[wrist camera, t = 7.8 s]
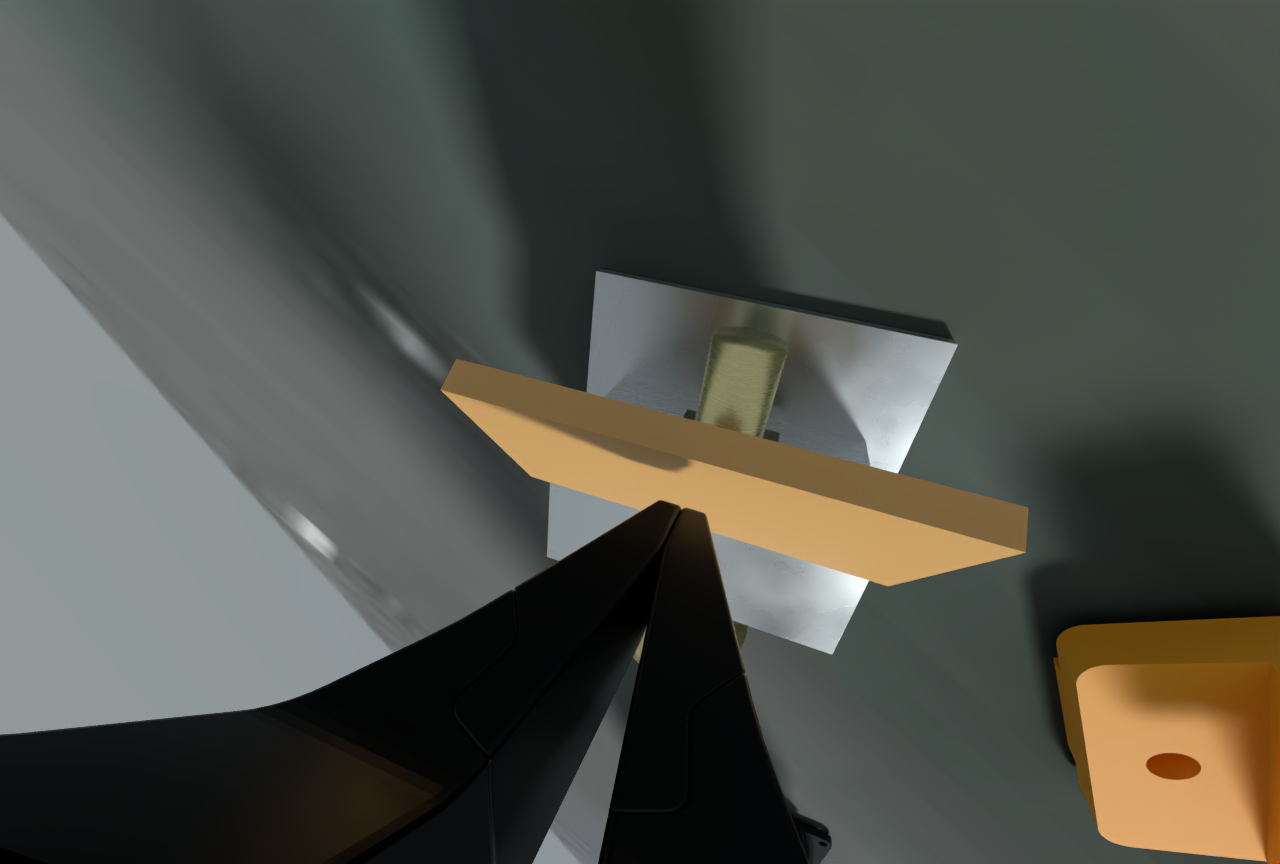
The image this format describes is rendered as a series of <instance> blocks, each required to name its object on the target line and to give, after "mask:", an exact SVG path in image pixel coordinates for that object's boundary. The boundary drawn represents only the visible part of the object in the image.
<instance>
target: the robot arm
mask: <svg viewBox="0 0 1280 864" xmlns="http://www.w3.org/2000/svg"><path fill="white" fill-rule="evenodd" d="M645 630H646V632H645ZM644 633H645V637H644V642H643V647H642V652H641V657H640V662H639V667H638V671H637V676H636V681H635V686H634V691H633V696H632V701H631V706H630V710H629V715H628V720H627V725H626V730H625V735H624V740H623V745H622V750H621V754H620V759H619V764H618V769H617V774H616V779H615V784H614V789H613V794H612V798H611V803H610V808H609V813H608V818H607V823H606V828H605V833H604V838H603V842H602V847H601V852H600V857H599V862H598V864H820V863H821V861H822V860H823V858H824V857H825V856H826V854H827V853H828V851H829V850H830V849H831V846H832V841H831V837H830V836H829V835H828V834H826V833H824V832H821V831H819V830H816V829H814V828H812V827H809V826H807V825H804V824H802V823H800V822H797V821H795V820H793V819H792V817H791V814H790V812H789V809H788V806H787V804H786V801H785V798H784V796H783V793H782V790H781V788H780V785H779V782H778V779H777V777H776V774H775V771H774V768H773V765H772V762H771V759H770V756H769V754H768V751H767V748H766V745H765V742H764V739H763V736H762V732H761V729H760V725H759V722H758V718H757V714H756V711H755V707H754V704H753V700H752V696H751V692H750V688H749V684H748V680H747V677H746V676H745V675H744V674H745V669H744V665H743V661H742V657H741V653H740V649H739V645H738V641H737V637H736V633H735V629H734V625H733V621H732V616H731V612H730V608H729V604H728V600H727V596H726V592H725V588H724V584H723V580H722V576H721V572H720V568H719V564H718V560H717V556H716V552H715V548H714V544H713V540H712V536H711V532H710V528H709V524H708V519H707V516H706V514H705V513H703V512H700V511H697V510H693V509H690V508H683V509H681V507H680V506H679V505H677V504H673V503H670V502H667V501H663V500H659V501H656V502H655V503H653V504H651V505H650V506H648V507H647V508H645V509H643V510H642V511H640V512H638V513H637V514H635V515H633V516H632V517H630V518H628V519H627V520H625V521H624V522H622V523H620V524H619V525H617V526H615V527H614V528H612V529H610V530H609V531H607V532H605V533H604V534H602V535H601V536H599V537H597V538H596V539H594V540H592V541H591V542H589V543H587V544H586V545H584V546H582V547H581V548H579V549H578V550H576V551H574V552H573V553H571V554H569V555H568V556H566V557H564V558H563V559H561V560H559V561H558V562H556V563H555V564H553V565H551V566H550V567H548V568H546V569H545V570H543V571H541V572H540V573H538V574H537V575H535V576H533V577H532V578H530V579H528V580H527V581H525V582H523V583H522V584H520V585H518V586H517V587H516V588H515V592H514V591H513V590H510V591H508V592H507V593H505V594H503V595H502V596H500V597H498V598H497V599H495V600H493V601H492V602H490V603H488V604H487V605H485V606H483V607H481V608H480V609H478V610H476V611H474V612H473V613H471V614H469V615H467V616H466V617H464V618H462V619H460V620H458V621H457V622H455V623H453V624H451V625H449V626H447V627H445V628H443V629H441V630H439V631H437V632H435V633H433V634H431V635H429V636H427V637H425V638H423V639H421V640H419V641H417V642H415V643H413V644H411V645H409V646H407V647H404V648H402V649H400V650H398V651H396V652H394V653H392V654H390V655H388V656H386V657H384V658H382V659H380V660H378V661H375V662H373V663H371V664H369V665H367V666H365V667H363V668H361V669H359V670H357V671H355V672H353V673H350V674H349V675H346V676H344V677H342V678H340V679H338V680H336V681H334V682H332V683H330V684H328V685H326V686H323V687H321V688H319V689H316V690H314V691H312V692H310V693H307V694H304V695H302V696H299V697H296V698H294V699H291V700H287V701H284V702H280V703H277V704H274V705H270V706H265V707H261V708H256V709H250V710H242V711H233V712H223V713H213V714H203V715H194V716H184V717H174V718H165V719H155V720H145V721H135V722H126V723H117V724H106V725H97V726H87V727H78V728H67V729H58V730H49V731H38V732H29V733H20V734H4V735H0V864H532V863H533V861H534V859H535V857H536V855H537V852H538V851H539V848H540V846H541V844H542V842H543V840H544V838H545V836H546V834H547V832H548V830H549V828H550V826H551V824H552V822H553V820H554V818H555V816H556V814H557V812H558V810H559V808H560V805H561V803H562V801H563V799H564V797H565V795H566V793H567V791H568V789H569V787H570V785H571V783H572V781H573V779H574V777H575V775H576V773H577V771H578V769H579V767H580V764H581V762H582V760H583V758H584V756H585V754H586V752H587V750H588V748H589V746H590V744H591V742H592V740H593V738H594V736H595V734H596V732H597V730H598V728H599V726H600V723H601V721H602V719H603V717H604V715H605V713H606V711H607V709H608V707H609V705H610V703H611V701H612V699H613V697H614V695H615V693H616V691H617V689H618V687H619V685H620V682H621V680H622V678H623V676H624V674H625V672H626V670H627V668H628V666H629V664H630V662H631V660H632V658H633V656H634V654H635V652H636V650H637V648H638V646H639V644H640V641H641V639H642V637H643V635H644Z"/></svg>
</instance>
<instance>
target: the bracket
mask: <svg viewBox="0 0 1280 864" xmlns="http://www.w3.org/2000/svg"><path fill="white" fill-rule="evenodd" d="M1056 647H1057V653H1058V657H1053V658H1054V664H1055V670H1056V676H1057V682H1058V688H1059V694H1060V700H1061V706H1062V712H1063V718H1064V724H1065V729H1066V735H1067V741H1068V746H1069V748H1070V750H1071V753H1072V755H1073V757H1074V760H1075V763H1076V769H1077V775H1078V781H1079V786H1080V788H1081V790H1082V793H1083V795H1084V797H1085V800H1086V802H1087V804H1088V807H1089V809H1090V812H1091V814H1092V816H1093V819H1094V821H1095V823H1096V826H1097V828H1098V830H1099V832H1100V834H1101V835H1102V836H1103V837H1104V838H1106V839H1107V840H1109V841H1111V842H1113V843H1116V844H1119V845H1123V846H1128V847H1136V848H1145V849H1154V850H1164V851H1173V852H1182V853H1192V854H1201V855H1210V856H1220V857H1229V858H1238V859H1248V860H1257V861H1266V862H1267V863H1268V864H1280V616H1270V617H1248V618H1225V619H1203V620H1181V621H1159V622H1136V623H1114V624H1092V625H1079V626H1075V627H1072V628H1069V629H1067V630H1065V631H1064V632H1062V633H1061V634H1060V635H1059V636H1058V638H1057V641H1056Z"/></svg>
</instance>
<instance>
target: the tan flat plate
mask: <svg viewBox="0 0 1280 864" xmlns="http://www.w3.org/2000/svg"><path fill="white" fill-rule="evenodd" d="M440 390H441V391H442V392H443V393H444V394H445V395H446V396H447V397H449V398H450V399H451V400H452V401H453V402H454V403H455V404H456V405H457V406H458V407H459V408H460V409H461V410H462V411H463V412H464V413H465V414H466V415H467V416H468V417H469V418H470V419H471V420H473V421H474V422H475V423H476V424H477V425H478V426H479V427H480V428H481V429H482V430H483V431H484V432H485V433H486V434H487V435H488V436H489V437H490V438H491V439H492V440H493V441H494V442H496V443H497V444H498V445H499V446H500V447H501V448H502V449H503V450H504V451H505V452H506V453H507V454H508V455H509V456H510V457H511V458H512V459H513V460H514V461H515V462H516V463H517V464H518V465H520V466H521V467H522V468H523V469H524V470H525V471H526V472H527V473H528V474H529V475H530V476H531V477H534V478H538V479H541V480H544V481H547V482H551V483H554V484H557V485H560V486H564V487H567V488H570V489H573V490H577V491H580V492H583V493H586V494H590V495H593V496H596V497H599V498H603V499H606V500H609V501H612V502H616V503H619V504H622V505H625V506H629V507H632V508H635V509H638V510H643V509H645V508H647V507H648V506H650V505H651V504H653V503H655V502H656V501H659V500H663V501H667V502H670V503H673V504H677V505H679V506H680V507H681V509H683V508H690V509H693V510H697V511H700V512H703V513H705V514H706V516H707V519H708V524H709V528H710V532H713V533H716V534H720V535H723V536H726V537H729V538H733V539H736V540H739V541H742V542H746V543H749V544H752V545H755V546H759V547H762V548H765V549H768V550H772V551H775V552H778V553H781V554H785V555H788V556H791V557H794V558H798V559H801V560H804V561H808V562H811V563H814V564H817V565H821V566H824V567H827V568H830V569H834V570H837V571H840V572H843V573H847V574H850V575H853V576H856V577H860V578H863V579H866V580H869V581H873V582H876V583H879V584H882V585H886V586H891V585H895V584H900V583H904V582H908V581H912V580H916V579H920V578H924V577H928V576H932V575H936V574H940V573H944V572H948V571H952V570H957V569H961V568H965V567H969V566H973V565H977V564H981V563H985V562H989V561H993V560H997V559H1001V558H1005V557H1010V556H1014V555H1018V554H1022V553H1026V542H1027V525H1028V507H1024V506H1021V505H1017V504H1013V503H1009V502H1005V501H1001V500H998V499H994V498H990V497H986V496H982V495H978V494H975V493H971V492H967V491H963V490H959V489H955V488H952V487H948V486H944V485H940V484H936V483H932V482H929V481H925V480H921V479H917V478H913V477H909V476H905V475H902V474H898V473H894V472H890V471H886V470H882V469H879V468H875V467H871V466H867V465H863V464H859V463H856V462H852V461H848V460H844V459H840V458H836V457H833V456H829V455H825V454H821V453H817V452H813V451H810V450H806V449H802V448H798V447H794V446H790V445H786V444H783V443H779V442H775V441H771V440H767V439H763V438H760V437H756V436H752V435H748V434H744V433H740V432H737V431H733V430H729V429H725V428H721V427H717V426H714V425H710V424H706V423H702V422H698V421H694V420H691V419H687V418H683V417H679V416H675V415H671V414H667V413H664V412H660V411H656V410H652V409H648V408H644V407H641V406H637V405H633V404H629V403H625V402H621V401H618V400H614V399H610V398H606V397H602V396H598V395H595V394H591V393H587V392H583V391H579V390H575V389H572V388H568V387H564V386H560V385H556V384H552V383H548V382H545V381H541V380H537V379H533V378H529V377H525V376H522V375H518V374H514V373H510V372H506V371H502V370H499V369H495V368H491V367H487V366H483V365H479V364H476V363H472V362H468V361H464V360H460V359H456V360H455V362H454V364H453V366H452V368H451V370H450V372H449V374H448V376H447V378H446V380H445V382H444V384H443V385H442V387H441V389H440Z"/></svg>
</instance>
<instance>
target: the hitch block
mask: <svg viewBox="0 0 1280 864" xmlns="http://www.w3.org/2000/svg"><path fill="white" fill-rule="evenodd" d="M724 326H739V327H748V328H753V329H758V330H762V331H765V332H768V333H771V334H774V335H776V336H778V337H780V338H782V339H783V340H785V341H786V342H787V343H788V345H789V349H788V353H787V356H786V360H785V363H784V366H783V370H782V373H781V377H780V380H779V384H778V387H777V391H776V394H775V398H774V401H773V404H772V408H771V411H770V415H769V418H768V422H767V425H766V429H765V432H764V436H763V439H767V440H771V441H775V442H779V443H783V444H786V445H790V446H794V447H798V448H802V449H806V450H810V451H813V452H817V453H821V454H825V455H829V456H833V457H836V458H840V459H844V460H848V461H852V462H856V463H859V464H863V465H867V466H871V467H875V468H879V469H882V470H886V471H890V472H894V473H898V472H899V469H900V467H901V465H902V463H903V461H904V459H905V457H906V454H907V452H908V450H909V448H910V446H911V444H912V442H913V439H914V437H915V435H916V433H917V431H918V429H919V427H920V424H921V422H922V420H923V418H924V416H925V414H926V412H927V409H928V407H929V405H930V403H931V401H932V399H933V397H934V394H935V392H936V390H937V388H938V386H939V384H940V382H941V379H942V377H943V375H944V373H945V371H946V369H947V367H948V364H949V362H950V360H951V358H952V356H953V354H954V352H955V349H956V347H957V345H958V344H957V343H956V342H955V341H954V339H949V338H944V337H939V336H934V335H929V334H924V333H919V332H914V331H909V330H904V329H899V328H894V327H889V326H884V325H879V324H874V323H869V322H864V321H859V320H855V319H850V318H845V317H840V316H835V315H830V314H825V313H820V312H815V311H810V310H805V309H800V308H795V307H790V306H785V305H780V304H775V303H770V302H765V301H760V300H755V299H750V298H745V297H740V296H735V295H731V294H726V293H721V292H716V291H711V290H706V289H701V288H696V287H691V286H686V285H681V284H676V283H671V282H666V281H661V280H656V279H651V278H646V277H641V276H636V275H631V274H626V273H621V272H616V271H611V270H607V269H600V270H597V271H596V279H595V291H594V304H593V317H592V330H591V342H590V355H589V368H588V381H587V393H591V394H595V395H598V396H602V397H606V398H610V399H614V400H618V401H621V402H625V403H629V404H633V405H637V406H641V407H644V408H648V409H652V410H656V411H660V412H664V413H667V414H671V415H675V416H679V417H683V418H687V419H691V420H694V421H695V417H696V412H697V407H698V402H699V397H700V393H701V388H702V383H703V378H704V373H705V368H706V363H707V358H708V354H709V349H710V344H711V339H712V334H713V331H714V330H715V329H716V328H719V327H724ZM640 511H642V510H638V509H635V508H632V507H629V506H625V505H622V504H619V503H616V502H612V501H609V500H606V499H603V498H599V497H596V496H593V495H590V494H586V493H583V492H580V491H577V490H573V489H570V488H567V487H564V486H560V485H557V484H554V483H551V482H550V497H549V521H548V545H547V557H549V558H552V559H555V560H558V561H559V560H561V559H563V558H564V557H566V556H568V555H569V554H571V553H573V552H574V551H576V550H578V549H579V548H581V547H582V546H584V545H586V544H587V543H589V542H591V541H592V540H594V539H596V538H597V537H599V536H601V535H602V534H604V533H605V532H607V531H609V530H610V529H612V528H614V527H615V526H617V525H619V524H620V523H622V522H624V521H625V520H627V519H628V518H630V517H632V516H633V515H635V514H637V513H638V512H640ZM711 536H712V540H713V544H714V548H715V552H716V556H717V560H718V564H719V568H720V572H721V576H722V580H723V584H724V588H725V592H726V596H727V600H728V604H729V608H730V612H731V616H732V620H733V621H736V622H739V623H741V624H744V625H747V626H750V627H753V628H756V629H759V630H762V631H765V632H768V633H771V634H773V635H776V636H779V637H782V638H785V639H788V640H791V641H794V642H797V643H800V644H803V645H806V646H808V647H811V648H814V649H817V650H820V651H823V652H826V653H829V654H833V652H834V650H835V648H836V646H837V644H838V642H839V640H840V638H841V636H842V634H843V632H844V630H845V628H846V626H847V624H848V622H849V620H850V618H851V616H852V614H853V612H854V610H855V608H856V606H857V604H858V602H859V600H860V598H861V596H862V594H863V591H864V589H865V587H866V585H867V583H868V581H869V580H866V579H863V578H860V577H856V576H853V575H850V574H847V573H843V572H840V571H837V570H834V569H830V568H827V567H824V566H821V565H817V564H814V563H811V562H808V561H804V560H801V559H798V558H794V557H791V556H788V555H785V554H781V553H778V552H775V551H772V550H768V549H765V548H762V547H759V546H755V545H752V544H749V543H746V542H742V541H739V540H736V539H733V538H729V537H726V536H723V535H720V534H716V533H713V532H711Z"/></svg>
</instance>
